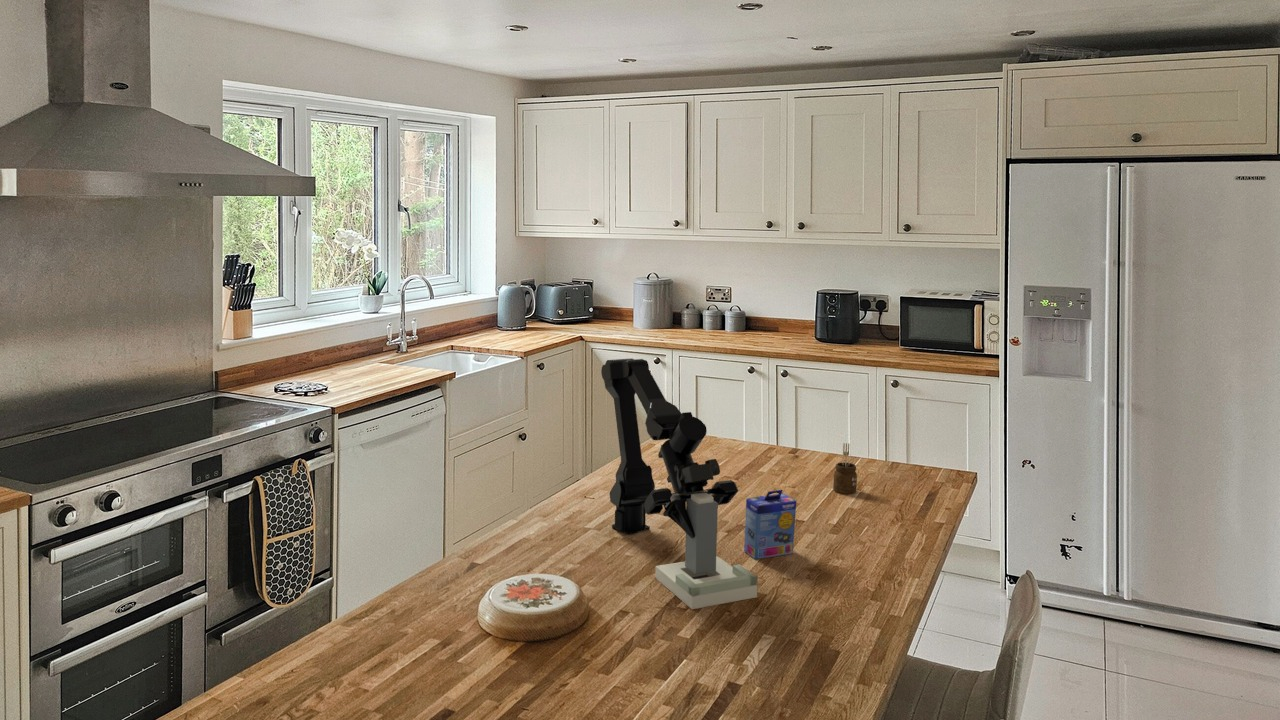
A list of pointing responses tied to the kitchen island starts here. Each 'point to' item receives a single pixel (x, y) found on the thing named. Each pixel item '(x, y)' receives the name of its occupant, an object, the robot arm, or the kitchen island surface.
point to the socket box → (708, 583)
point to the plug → (702, 534)
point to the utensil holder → (845, 476)
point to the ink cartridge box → (769, 525)
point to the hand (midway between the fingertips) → (704, 535)
